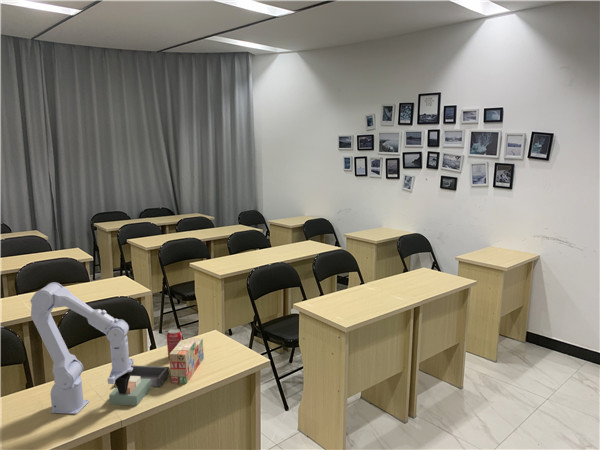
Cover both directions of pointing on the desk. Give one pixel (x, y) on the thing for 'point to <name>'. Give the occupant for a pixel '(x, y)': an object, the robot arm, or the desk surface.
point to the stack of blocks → (186, 359)
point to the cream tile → (135, 379)
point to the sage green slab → (131, 394)
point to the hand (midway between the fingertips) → (123, 392)
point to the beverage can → (173, 339)
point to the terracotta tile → (130, 387)
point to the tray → (151, 374)
